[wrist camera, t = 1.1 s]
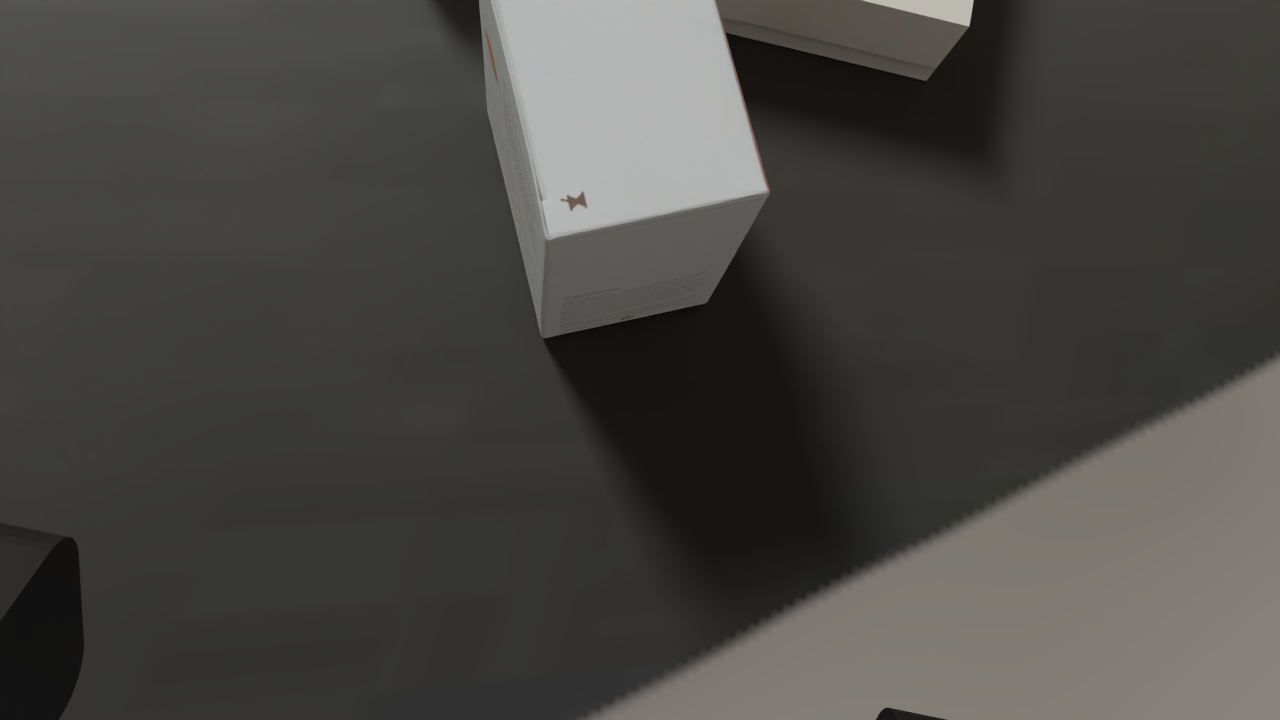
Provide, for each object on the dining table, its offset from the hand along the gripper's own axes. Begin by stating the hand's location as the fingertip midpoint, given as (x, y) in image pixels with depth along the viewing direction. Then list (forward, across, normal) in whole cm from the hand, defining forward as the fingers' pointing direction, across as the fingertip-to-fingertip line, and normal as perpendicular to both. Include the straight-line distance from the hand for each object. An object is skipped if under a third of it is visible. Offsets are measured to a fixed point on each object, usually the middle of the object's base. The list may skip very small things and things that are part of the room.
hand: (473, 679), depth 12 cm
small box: (+27, 0, +8) cm, 28 cm away
